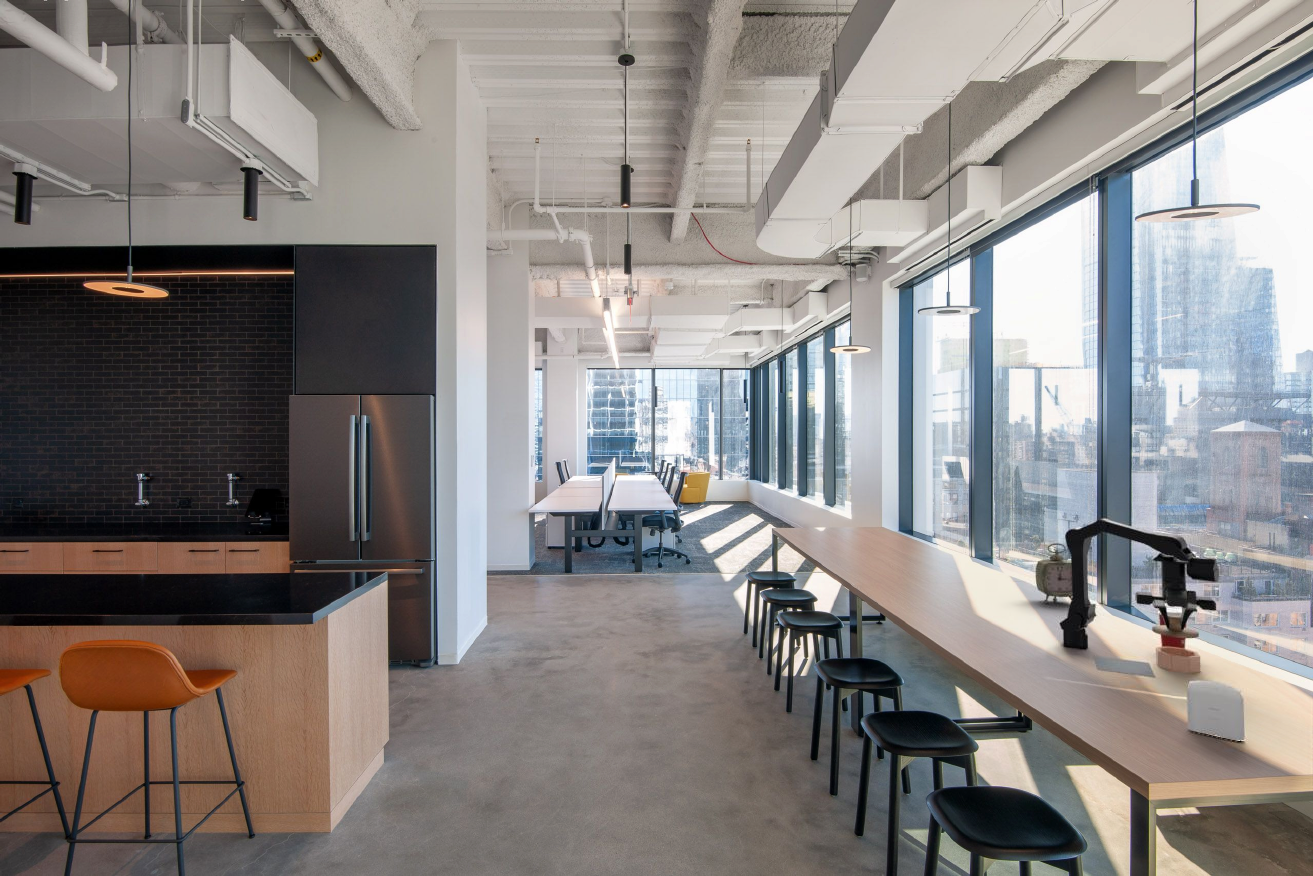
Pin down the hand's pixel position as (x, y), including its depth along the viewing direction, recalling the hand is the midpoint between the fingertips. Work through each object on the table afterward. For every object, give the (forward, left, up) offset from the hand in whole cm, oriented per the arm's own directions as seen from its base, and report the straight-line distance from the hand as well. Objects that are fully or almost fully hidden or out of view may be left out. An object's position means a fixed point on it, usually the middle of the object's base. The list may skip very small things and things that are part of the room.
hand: (1175, 629), depth 199 cm
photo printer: (+1, -50, -12) cm, 52 cm away
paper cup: (+2, +17, -12) cm, 21 cm away
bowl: (+1, +1, -12) cm, 12 cm away
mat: (-13, -6, -12) cm, 19 cm away
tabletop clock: (-29, +75, -12) cm, 81 cm away
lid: (0, 0, -1) cm, 1 cm away
